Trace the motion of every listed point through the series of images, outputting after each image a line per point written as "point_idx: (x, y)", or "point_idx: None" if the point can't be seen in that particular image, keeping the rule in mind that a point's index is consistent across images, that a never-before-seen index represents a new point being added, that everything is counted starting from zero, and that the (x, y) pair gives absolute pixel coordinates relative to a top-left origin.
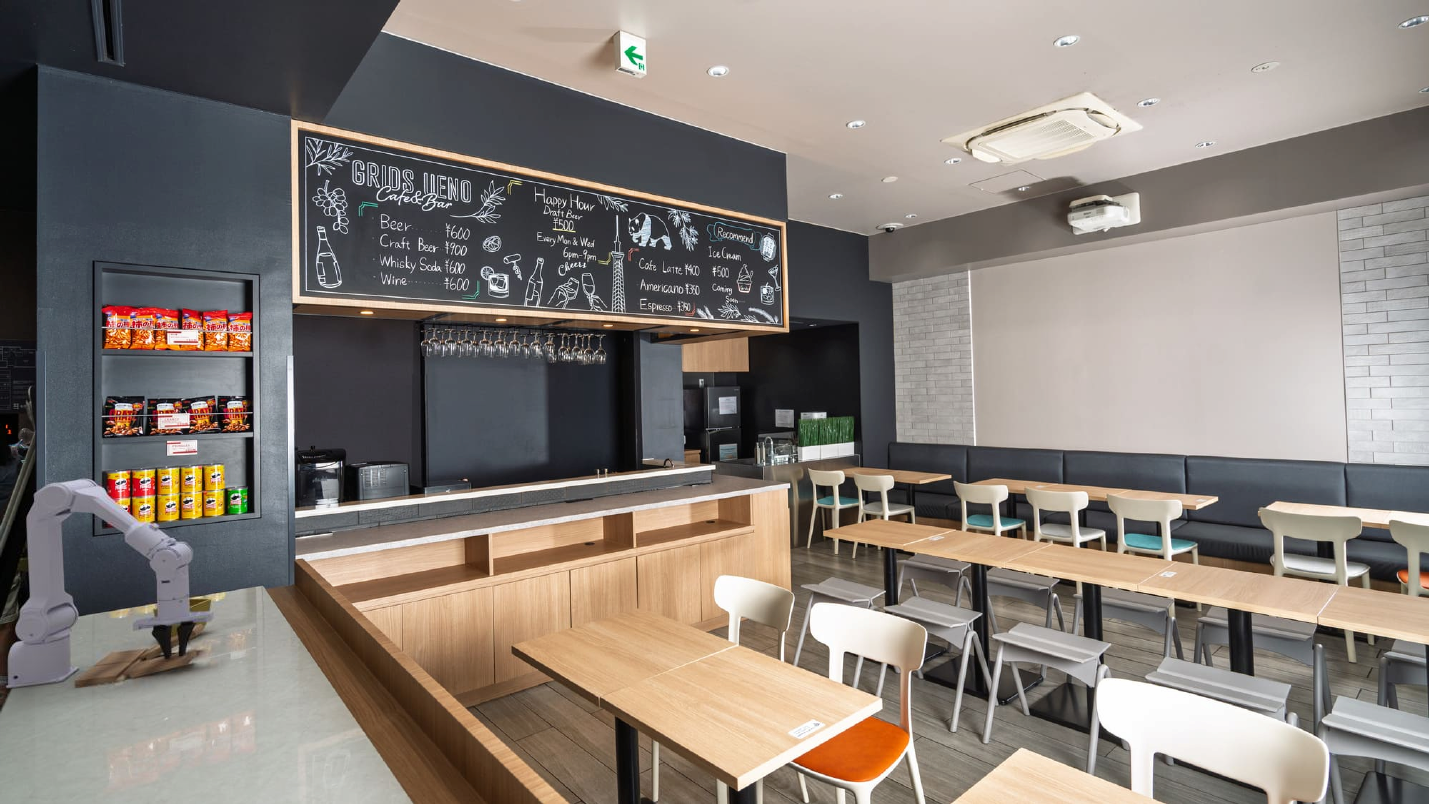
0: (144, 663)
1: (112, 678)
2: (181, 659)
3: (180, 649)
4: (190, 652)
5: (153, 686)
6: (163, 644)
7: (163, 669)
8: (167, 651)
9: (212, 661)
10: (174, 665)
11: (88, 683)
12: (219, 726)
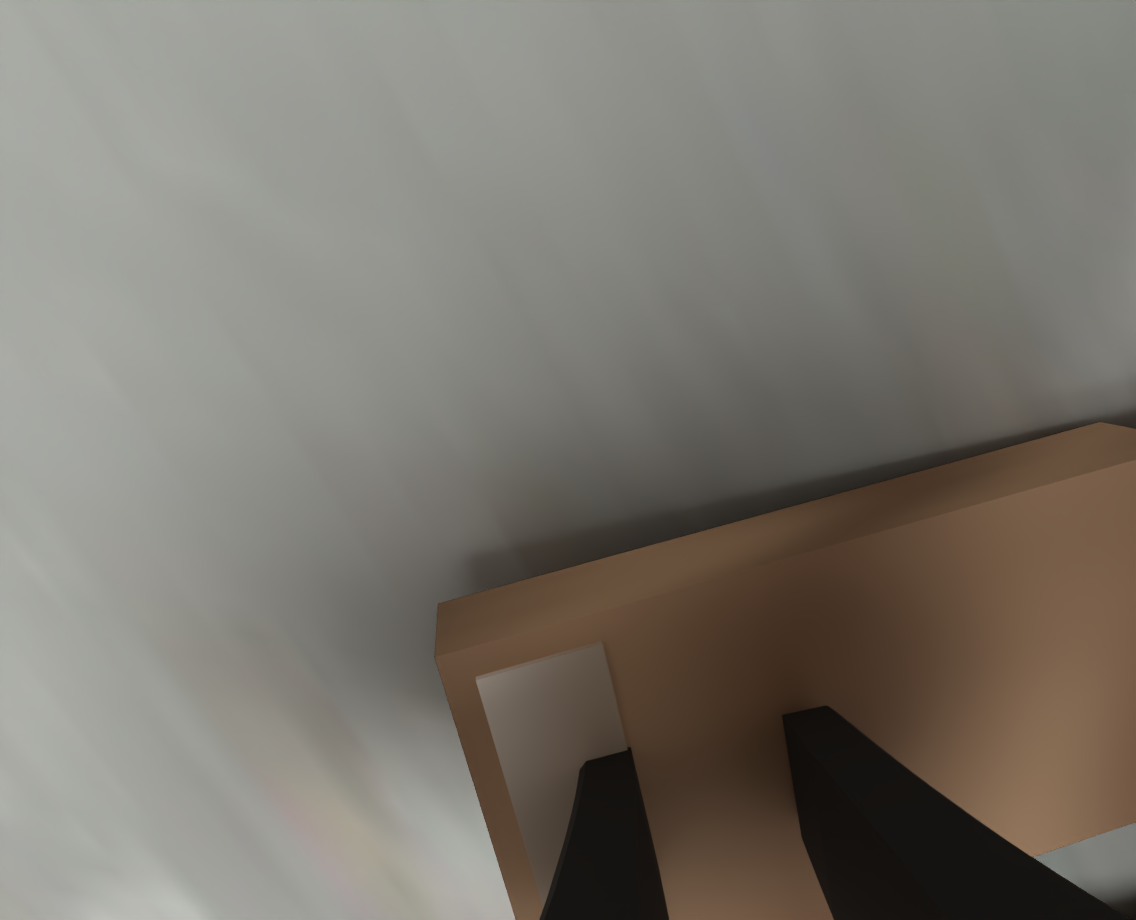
0: (1108, 710)
1: None
2: (516, 626)
3: (605, 843)
4: (538, 893)
5: (629, 40)
6: (1004, 916)
7: (747, 524)
8: (838, 798)
9: (361, 843)
10: (612, 565)
11: None
12: None
